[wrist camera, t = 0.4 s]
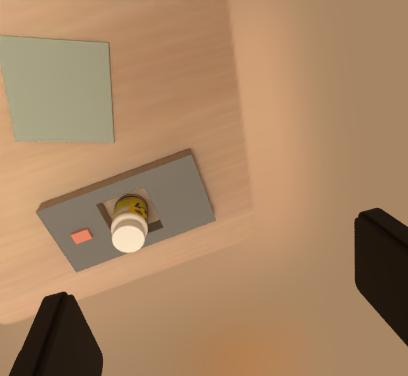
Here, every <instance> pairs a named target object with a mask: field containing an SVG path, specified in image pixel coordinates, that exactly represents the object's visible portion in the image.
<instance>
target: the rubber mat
mask: <svg viewBox="0 0 408 376" xmlns="http://www.w3.org/2000/svg"><path fill="white" fill-rule="evenodd" d="M0 62H1V68H2V73H3V79H4V84H5V89H6V95H7V100H8V105H9V111H10V116H11V122H12V127H13V132H14V138H15V141H34V142H97V143H114V130H113V112H112V94H111V76H110V57H109V43H102V42H87V41H72V40H56V39H41V38H26V37H11V36H0Z"/></svg>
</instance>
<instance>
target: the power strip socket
mask: <svg viewBox="0 0 408 376" xmlns="http://www.w3.org/2000/svg"><path fill="white" fill-rule="evenodd" d="M143 187H145V189H146V191H147V193H148V195H149V197H150V200H151V202H152V204H153V206H154V208H155V210H156V212H157V214H158V217H159V219H160V220H159V221H156V222H153V223H151V224H148V232H147V235H146V237H145V241H144V244H143V246H142V247H141V248H144V247H146V246H149V245H152V244H154V243H157V242H160V241H162V240H165V239H168V238H171V237H173V236H176V235H179V234H181V233H184V232H187V231H189V230H192V229H195V228H198V227H200V226H203V225H206V224H208V223H211V222H214V221H216V218H215V216H214V213H213V210H212V208H211V205H210V202H209V199H208V197H207V194H206V191H205V189H204V186H203V183H202V181H201V178H200V175H199V172H198V170H197V167H196V164H195V162H194V159H193V156H192V154H191V151H190V149H187V150H184V151H182V152H179V153H176V154H174V155H171V156H168V157H166V158H163V159H160V160H157V161H155V162H152V163H149V164H147V165H144V166H141V167H139V168H136V169H133V170H130V171H128V172H125V173H122V174H120V175H117V176H114V177H112V178H109V179H106V180H103V181H101V182H98V183H95V184H93V185H90V186H87V187H85V188H82V189H79V190H76V191H74V192H71V193H68V194H66V195H63V196H60V197H58V198H55V199H52V200H49V201H47V202H44V203H41V205H40V206H39V208H38V209H37V211H36V213H37V215H38V216H39V218H40V219H41V221H42V222H43V224H44V225H45V227H46V228H47V230H48V231H49V233H50V234H51V236H52V237H53V239H54V240H55V241H56V243H57V244H58V246H59V247H60V249H61V250H62V252H63V253H64V255H65V256H66V258H67V259H68V261H69V262H70V264H71V265H72V267H73V268H74V270H75V271H76V272H79V271H81V270H84V269H87V268H90V267H92V266H95V265H98V264H100V263H103V262H106V261H108V260H111V259H114V258H117V257H119V256H122V255H125V254H127V253H126V252H122V251H119V250H118V249H117V248H116V247H115V246H114V245H113V242H112V233H111V224H112V220H111V218H110V217H109V215H108V213H107V211H106V209H105V207H104V206H103V204H102V202H105V201H107V200H110V199H113V198H116V197H118V196H121V195H124V194H126V193H129V192H132V191H134V190H137V189H140V188H143ZM141 248H140V249H141Z"/></svg>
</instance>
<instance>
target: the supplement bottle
mask: <svg viewBox="0 0 408 376" xmlns="http://www.w3.org/2000/svg"><path fill="white" fill-rule="evenodd" d="M147 232H148V206H147V203H146V202H145V200H144V199H143V198H141V197H140V196H137V195H126V196H123V197H122V198H120V199H119V200H118V201H117V203H116V206H115V210H114V215H113V219H112V224H111V233H112V242H113V245H114V246H115V247H116V248H117V249H118V250H119V251H122V252H126V253H131V252H135V251H137V250H139V249H140V248H141V247H142V246H143V244H144V241H145V237H146V235H147Z"/></svg>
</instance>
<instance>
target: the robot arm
mask: <svg viewBox="0 0 408 376" xmlns="http://www.w3.org/2000/svg"><path fill="white" fill-rule="evenodd" d="M354 224H355V225H354V226H355V283H356V286H357V288H358V290H359V291H360V293H361V294H362V295H363V296H364V297H365V298H366V300H367V301H368V302H369V303H370V304H371V305H372V306H373V307H374V309H375V310H376V311H377V312H378V313H379V314H380V315H381V317H382V318H383V319H384V320H385V321H386V322H387V323H388V324H389V326H390V327H391V328H392V329H393V330H394V331H395V332H396V333H397V335H398V336H399V337H400V338H401V339H402V340H403V341H404V343H405V344H406V345H407V346H408V227H407V226H406V225H404V224H403V223H401V222H400V221H398V220H396V219H395V218H394V217H392V216H391V215H389V214H388V213H386V212H385V211H383V210H382V209H380V208H374V209H371V210H367V211H363V212H360V213H359V215H358V218H356V219H355V223H354ZM102 368H103V356H102V353H101V350H100V348H99V346H98V344H97V342H96V340H95V338H94V336H93V334H92V332H91V330H90V328H89V326H88V324H87V322H86V320H85V318H84V316H83V314H82V311H81V309H80V307H79V305H78V303H77V301H76V299H75V297H74V296H73V295H68V294H67V293H66V292H60V293H57V294H53V295H49V296H46V297H44V299H43V301H42V303H41V305H40V308H39V310H38V312H37V315H36V317H35V319H34V322H33V324H32V326H31V329H30V331H29V333H28V336H27V338H26V340H25V342H24V345H23V347H22V350H21V351H20V352H19V354H18V356H17V358H16V360H15V362H14V365H13V367H12V369H11V372H10V374H9V376H101V374H102Z"/></svg>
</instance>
